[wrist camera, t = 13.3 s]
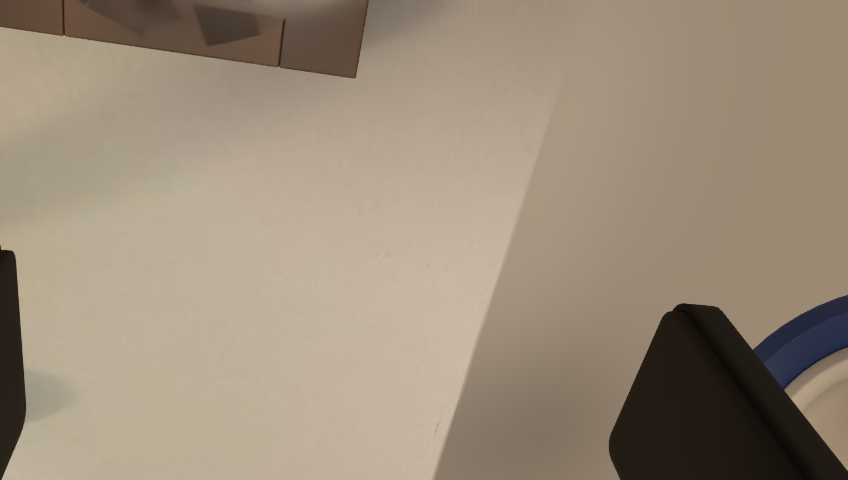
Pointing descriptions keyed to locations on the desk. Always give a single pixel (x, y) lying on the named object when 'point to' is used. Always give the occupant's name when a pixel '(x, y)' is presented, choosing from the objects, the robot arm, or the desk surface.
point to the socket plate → (211, 28)
